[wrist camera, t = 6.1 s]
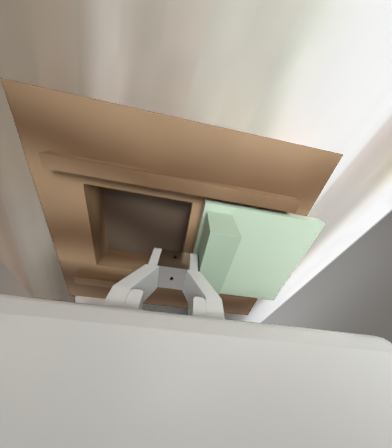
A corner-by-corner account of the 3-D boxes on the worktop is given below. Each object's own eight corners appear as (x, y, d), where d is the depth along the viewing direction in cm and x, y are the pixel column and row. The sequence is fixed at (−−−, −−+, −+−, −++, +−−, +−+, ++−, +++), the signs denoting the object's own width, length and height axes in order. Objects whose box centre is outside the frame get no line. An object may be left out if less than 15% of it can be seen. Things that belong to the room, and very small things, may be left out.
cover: (205, 198, 10) (208, 222, 7) (317, 218, 11) (360, 247, 8) (186, 281, 14) (183, 319, 11) (270, 292, 15) (287, 330, 12)
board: (45, 91, 10) (-20, 72, 7) (314, 151, 11) (355, 156, 8) (85, 274, 17) (63, 302, 14) (241, 294, 19) (250, 322, 16)
